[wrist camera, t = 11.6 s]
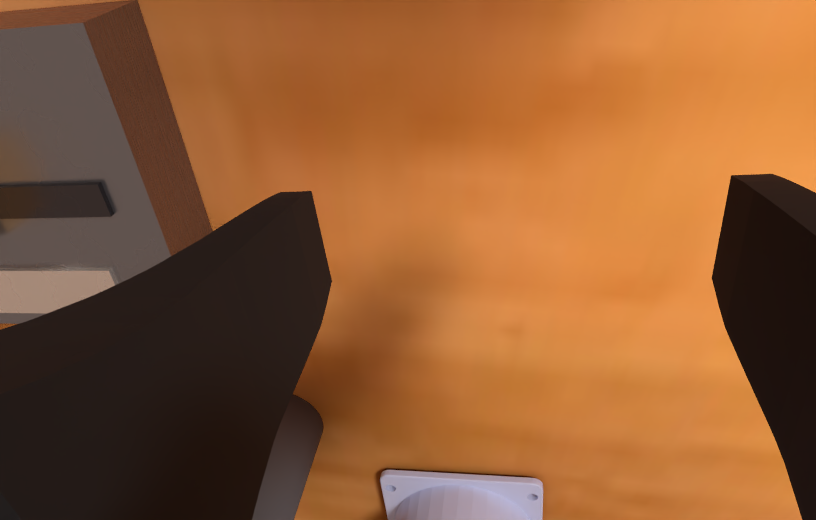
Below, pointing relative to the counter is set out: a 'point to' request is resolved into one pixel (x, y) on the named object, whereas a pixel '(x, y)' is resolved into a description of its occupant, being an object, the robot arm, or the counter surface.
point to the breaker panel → (86, 158)
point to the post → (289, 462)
